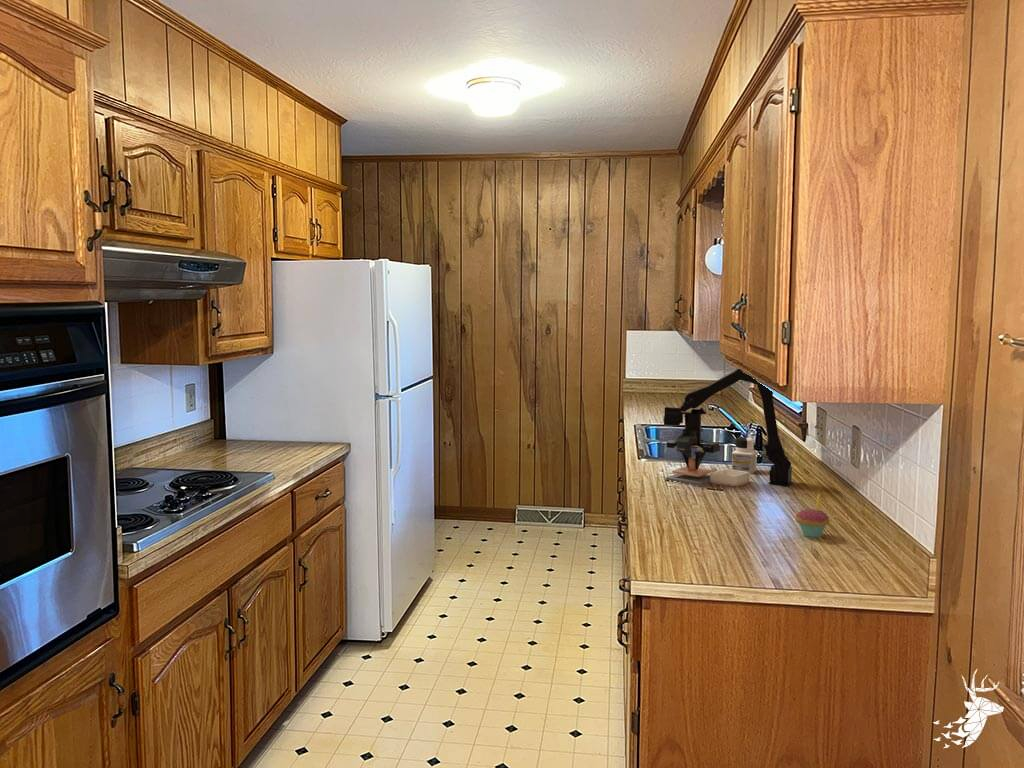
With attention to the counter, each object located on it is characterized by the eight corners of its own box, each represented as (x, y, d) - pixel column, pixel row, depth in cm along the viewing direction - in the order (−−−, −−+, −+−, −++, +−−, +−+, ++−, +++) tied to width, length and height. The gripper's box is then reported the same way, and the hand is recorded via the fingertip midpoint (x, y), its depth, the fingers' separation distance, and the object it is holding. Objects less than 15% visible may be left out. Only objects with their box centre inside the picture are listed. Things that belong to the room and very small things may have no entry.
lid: (713, 471, 276) (713, 457, 275) (698, 476, 268) (698, 462, 268) (686, 467, 283) (687, 453, 282) (672, 472, 275) (672, 458, 275)
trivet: (719, 479, 276) (719, 476, 276) (700, 486, 266) (700, 483, 266) (685, 474, 286) (685, 470, 286) (665, 480, 275) (665, 477, 275)
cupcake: (817, 529, 213) (818, 487, 212) (835, 538, 205) (836, 494, 204) (789, 531, 212) (790, 489, 211) (806, 540, 203) (807, 496, 202)
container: (731, 472, 287) (732, 438, 286) (735, 468, 294) (736, 435, 293) (752, 474, 284) (753, 439, 282) (756, 470, 291) (757, 436, 289)
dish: (749, 481, 272) (749, 472, 272) (736, 486, 265) (736, 477, 264) (723, 477, 279) (723, 468, 278) (710, 482, 271) (710, 473, 271)
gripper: (658, 426, 274) (658, 469, 276) (705, 431, 262) (705, 476, 263) (674, 422, 282) (674, 464, 284) (720, 427, 270) (720, 470, 271)
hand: (692, 468), depth 275 cm, fingers closed on lid, 3 cm apart
